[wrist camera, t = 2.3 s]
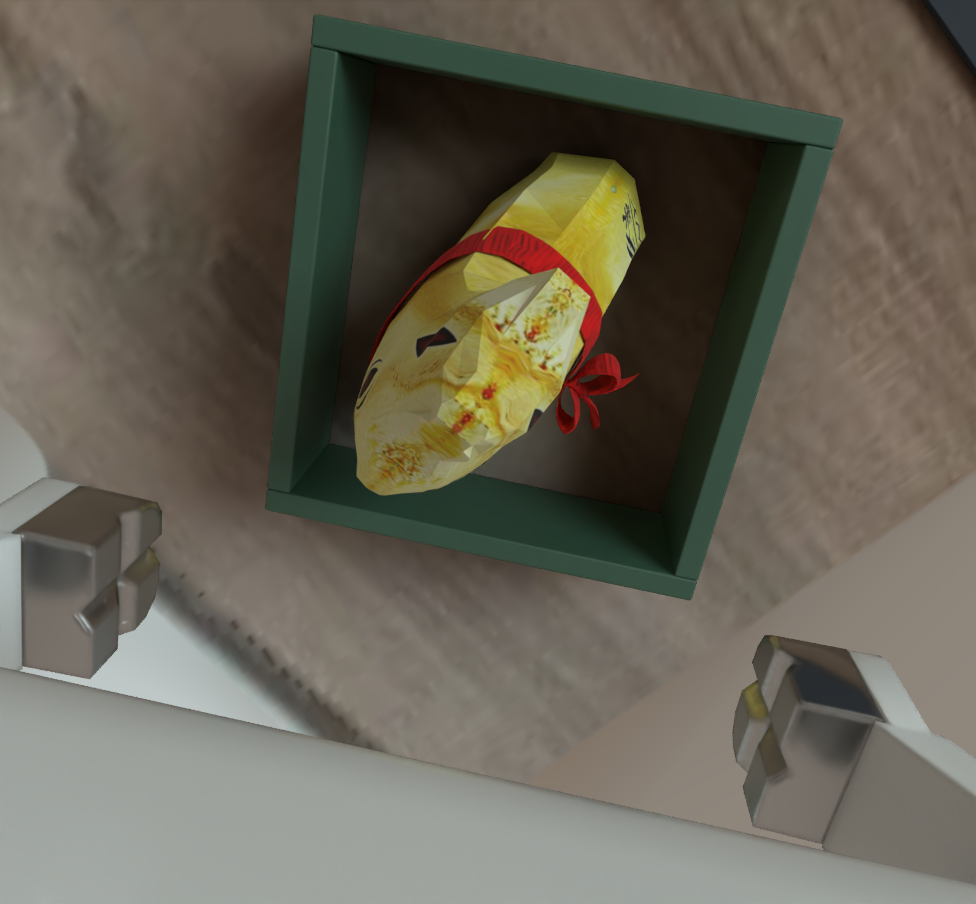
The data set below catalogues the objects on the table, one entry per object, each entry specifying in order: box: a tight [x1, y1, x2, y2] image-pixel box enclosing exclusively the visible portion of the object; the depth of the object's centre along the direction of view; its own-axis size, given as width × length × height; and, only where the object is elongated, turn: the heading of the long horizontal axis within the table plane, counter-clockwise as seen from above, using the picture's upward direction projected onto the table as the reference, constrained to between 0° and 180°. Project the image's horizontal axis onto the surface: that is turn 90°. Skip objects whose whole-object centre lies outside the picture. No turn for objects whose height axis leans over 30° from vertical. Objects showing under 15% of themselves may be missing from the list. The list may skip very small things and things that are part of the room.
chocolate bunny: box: [354, 152, 645, 495], centre depth 24 cm, size 7×11×15 cm, turn 139°
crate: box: [265, 14, 843, 600], centre depth 28 cm, size 15×15×5 cm
